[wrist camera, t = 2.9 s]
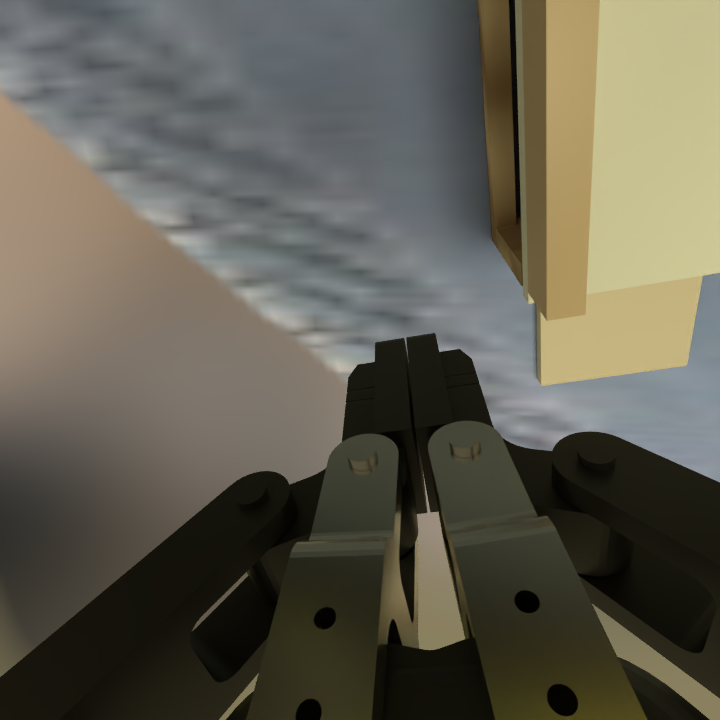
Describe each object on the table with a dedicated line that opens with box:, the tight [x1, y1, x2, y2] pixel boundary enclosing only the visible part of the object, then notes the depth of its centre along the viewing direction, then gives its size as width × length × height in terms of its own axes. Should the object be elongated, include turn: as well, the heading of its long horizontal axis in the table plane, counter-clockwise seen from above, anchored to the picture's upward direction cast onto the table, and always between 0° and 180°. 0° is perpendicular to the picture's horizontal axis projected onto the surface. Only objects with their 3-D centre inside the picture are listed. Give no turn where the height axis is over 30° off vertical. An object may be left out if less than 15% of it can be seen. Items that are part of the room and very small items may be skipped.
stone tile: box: [536, 276, 703, 386], centre depth 32 cm, size 10×10×1 cm
